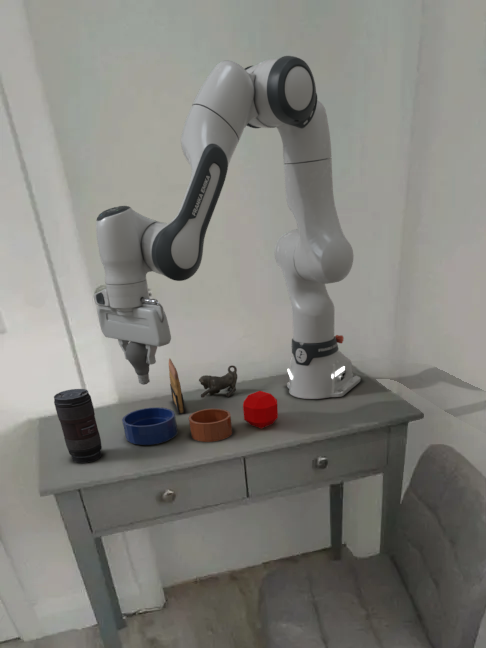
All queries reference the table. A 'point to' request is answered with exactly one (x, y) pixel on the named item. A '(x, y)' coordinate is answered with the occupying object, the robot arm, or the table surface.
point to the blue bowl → (150, 426)
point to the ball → (260, 409)
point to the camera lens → (78, 424)
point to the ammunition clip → (176, 389)
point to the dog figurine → (219, 383)
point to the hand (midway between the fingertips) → (140, 361)
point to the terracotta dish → (210, 425)
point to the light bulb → (138, 360)
